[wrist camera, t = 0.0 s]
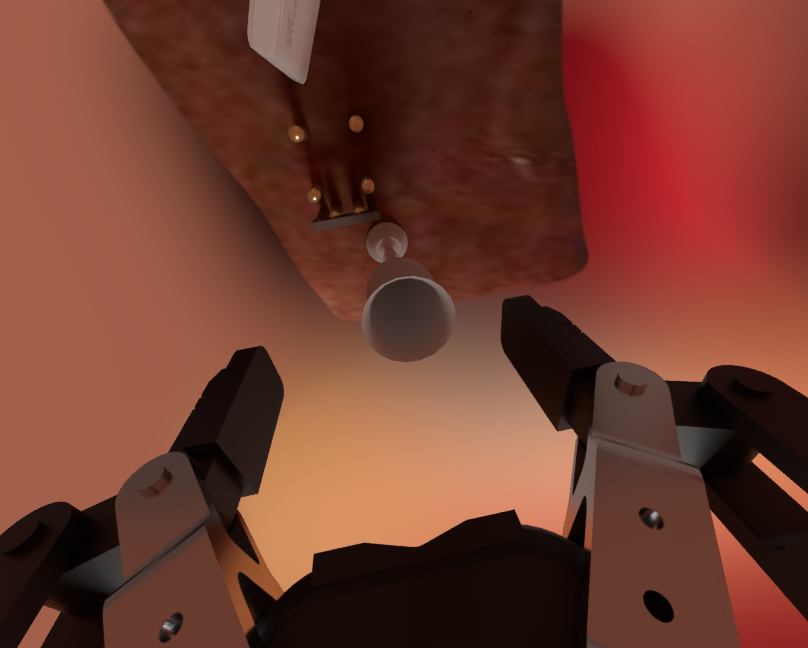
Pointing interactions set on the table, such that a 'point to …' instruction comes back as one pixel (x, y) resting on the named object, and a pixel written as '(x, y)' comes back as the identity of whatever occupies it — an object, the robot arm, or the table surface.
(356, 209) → the candles
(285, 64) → the external hard drive
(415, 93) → the table surface
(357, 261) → the table surface
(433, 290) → the chalice
